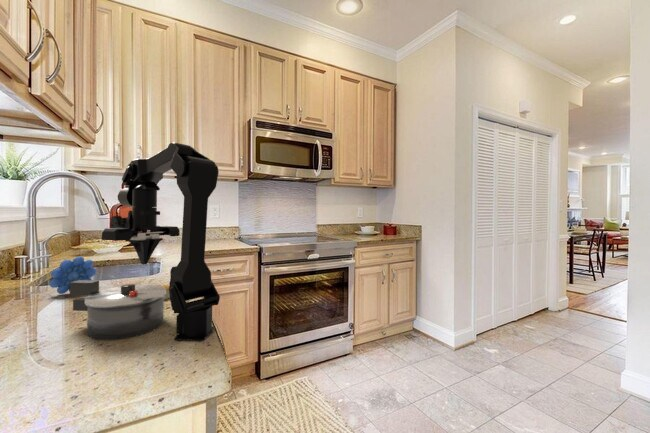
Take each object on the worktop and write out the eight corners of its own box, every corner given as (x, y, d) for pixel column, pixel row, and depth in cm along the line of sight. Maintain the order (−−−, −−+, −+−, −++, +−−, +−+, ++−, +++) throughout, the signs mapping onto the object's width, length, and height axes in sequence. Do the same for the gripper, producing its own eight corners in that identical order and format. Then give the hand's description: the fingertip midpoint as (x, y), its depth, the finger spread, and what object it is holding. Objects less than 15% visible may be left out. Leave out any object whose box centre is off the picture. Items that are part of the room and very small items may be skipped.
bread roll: (158, 293, 99) (158, 281, 99) (179, 295, 97) (179, 283, 97) (136, 299, 91) (136, 287, 91) (158, 302, 89) (159, 289, 89)
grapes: (95, 287, 104) (96, 254, 103) (96, 292, 98) (96, 256, 98) (50, 293, 96) (51, 256, 96) (48, 297, 91) (49, 259, 91)
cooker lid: (178, 289, 78) (178, 276, 78) (139, 309, 62) (139, 292, 62) (100, 287, 78) (100, 274, 78) (41, 306, 62) (41, 290, 62)
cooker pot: (175, 316, 77) (175, 291, 77) (137, 341, 62) (138, 309, 62) (102, 314, 78) (103, 289, 78) (48, 338, 63) (48, 307, 63)
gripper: (154, 207, 92) (153, 257, 92) (87, 206, 74) (87, 267, 75) (181, 208, 88) (180, 260, 88) (117, 206, 70) (116, 271, 70)
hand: (144, 264), depth 80 cm, fingers closed
